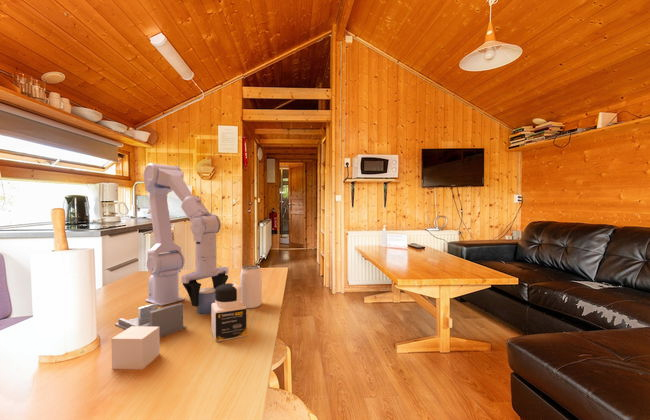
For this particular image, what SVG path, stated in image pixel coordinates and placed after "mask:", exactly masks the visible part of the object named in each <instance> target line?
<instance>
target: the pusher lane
mask: <svg viewBox="0 0 650 420" xmlns="http://www.w3.org/2000/svg"><path fill="white" fill-rule="evenodd" d="M149 317H150V323H147V324H144V325H141V326H147V327H159V339H160V338H163V337H165V336H168V335H171V334H174V333H176V332H179V331H181V330H184V329H187V326H186V325H184V303H182V302H179V303H175V304H172V305H169V306H165V307H164V306H163V307H161V308H158V309H157V310H154V311H150V312H149ZM117 319H118V322H116V323H115V324H114V325H115V326H116V327H119V328H121V329H123V330H124V331H125V330H126V329H128V328H130V327H131V326H140V325H138V316H137V317H133V318H131V319H125V318H122V317H121V318H120V317H119V318H117Z"/></svg>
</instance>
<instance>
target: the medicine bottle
mask: <svg viewBox="0 0 650 420" xmlns="http://www.w3.org/2000/svg"><path fill="white" fill-rule="evenodd" d="M215 296H216V299H215V303H212V304H211V316H210V317H211V320H210V321H211V323H210V324H211V326H210V327H211V333H212V336H213V338H214V340H215V342H217V343H218V342H222V341H223V342H224V341H229V340H234V339H239V338H245V337H247V332H248V330H247V325H248V324H247V321H248V320H247V319H248V318H247V315H248V314H247V308H246V306H245V305H244V304H243V303H242V301H241V286H240V284H238V283H232V282H229V283H225V284H222V285H220V286H218V287H217V288H216V289H215Z"/></svg>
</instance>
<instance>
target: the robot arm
mask: <svg viewBox="0 0 650 420" xmlns="http://www.w3.org/2000/svg"><path fill="white" fill-rule="evenodd" d="M142 174H143V175H142V176H143V183H144V188H145V191H146V192H147V194H148V202H149V203H148V204H149V209H150V217H151V224H152V232H153V238H154V245H153V246H152V248H150V249H149V250H148V251H147V259H146V260H147V261H146V268H147V271H148V272H149V274H150V276H149V279H148V280H147V288H148V291H147V293H148V295H147V296H148V297H147V298H146V299H145V302H148V303H151V304H154V303H157V304H158V306H161V307H164V306H167V305H170V304H173V303H177V302H182V301H184V300H185V297H182V296H180V292H179V291H180V290H179V285H180V284H179V282H180V281H179V280H180V279H179V273H181V272H182V271H181V270H182V269H183V268H184V267H185V257H184V255H183V252H182V248H181V246H179V244H176V243H175V242H174V238H173V231H172V225H171V218H170V217H171V216H170V210H169V205H168V197H167V196H168V194H169V193H172V192H173V193H174V194H175V195H176V196H177V198H178V199H179V200H180V201H181V202H182V203H181V206H180V207H181V209H182V211H183V212H184V214H185V215H186V217H187V218H188V219H189V221H190V223H191V225H190V231H191V233H192V234H193V235H192V236H193V241H194V242H195V271H193V272H190V273H187V274H183V275H181V283H182V285H183V288H185V290H186V292H187V295H188V297H189V300H190V303H191V306H192V307H195V308H197V307H198V305H199V291H200V289H201V286H202V283H201V282H200V283H199V282H198V281H199V280H200V281H201V280H203V279H208V278H211V282H212V285H213V287H212V288H215V289H216V288H217V287H218V286H220V285H222V284H227V283H226V282H227V281H228V280H229V275H228V274H229V267H228V266H221V267H217V234H218V233H219V232H220V230H221V226H222V225H221V220H220V218H219V216H218V215H217V214H213V213H212V212H210V211H209V210H208V208H207V207H206V206H205V204H204V203H203V202H202V199H201V198H200V197H198V196H196V195H195V196H193V194H192V192H191V190H190V189H189V187H188V184H186V182H185V180H184V177H185V175H184V172H183V170H182V168H180V166H178V165H170V164H169V165H167V164H159V163H157V164H156V163H154V162H150V163H148V164H147V165H146V166H145V168H144V171H143V173H142ZM215 300H216V296H215Z"/></svg>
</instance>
